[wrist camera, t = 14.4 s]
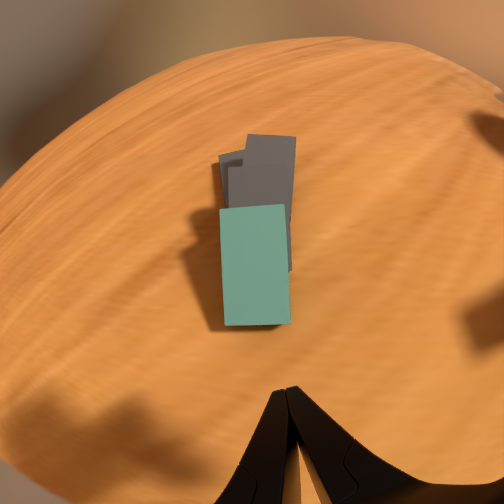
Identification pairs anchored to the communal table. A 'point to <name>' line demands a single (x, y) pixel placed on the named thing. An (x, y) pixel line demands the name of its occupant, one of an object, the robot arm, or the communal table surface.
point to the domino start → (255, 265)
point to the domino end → (227, 161)
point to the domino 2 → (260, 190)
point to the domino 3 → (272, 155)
